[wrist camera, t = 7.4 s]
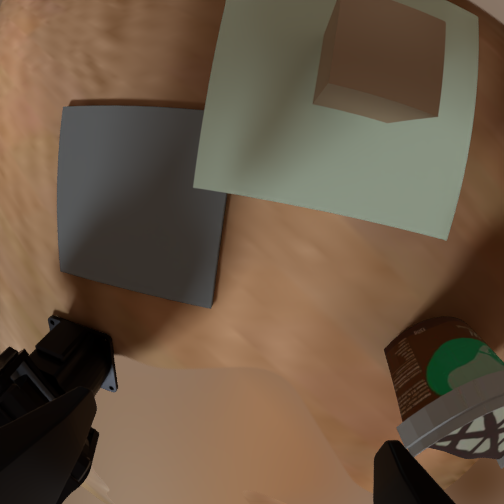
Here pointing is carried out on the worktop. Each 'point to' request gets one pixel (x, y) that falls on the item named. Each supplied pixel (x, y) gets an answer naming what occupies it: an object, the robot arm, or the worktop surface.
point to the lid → (343, 107)
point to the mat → (137, 202)
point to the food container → (448, 390)
